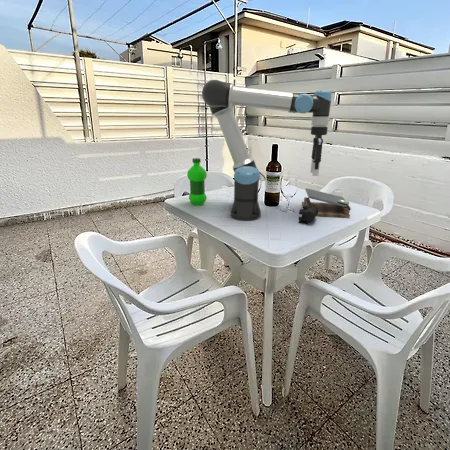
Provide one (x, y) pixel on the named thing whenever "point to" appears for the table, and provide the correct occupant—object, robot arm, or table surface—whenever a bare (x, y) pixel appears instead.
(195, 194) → the plastic bottle
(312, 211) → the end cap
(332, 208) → the walnut stand
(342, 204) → the tilting plate
